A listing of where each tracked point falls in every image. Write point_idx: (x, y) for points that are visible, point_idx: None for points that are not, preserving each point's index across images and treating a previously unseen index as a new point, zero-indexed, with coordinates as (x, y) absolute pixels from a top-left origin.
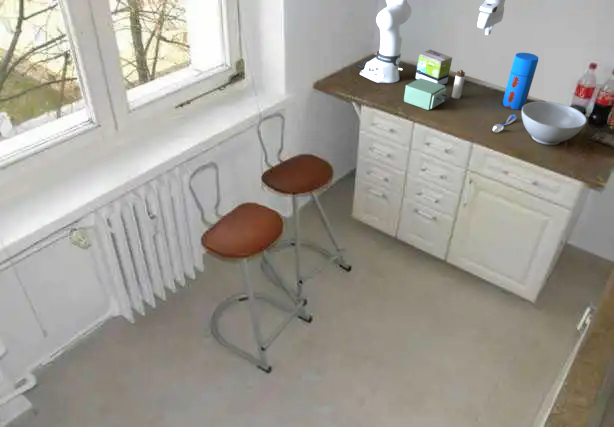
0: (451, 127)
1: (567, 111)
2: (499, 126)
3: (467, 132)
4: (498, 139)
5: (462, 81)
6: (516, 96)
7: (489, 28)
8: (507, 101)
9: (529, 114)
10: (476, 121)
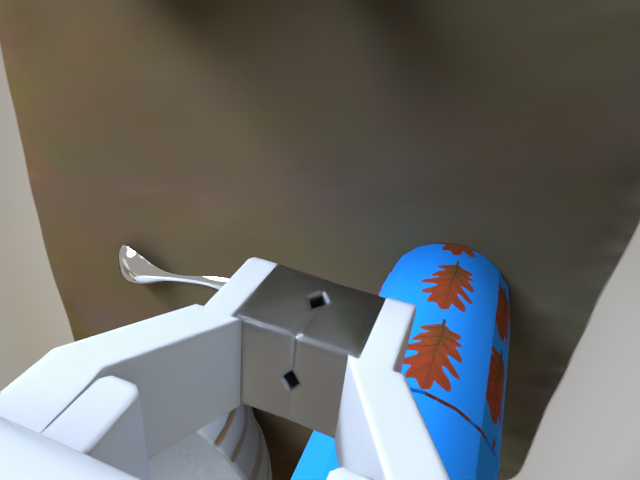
0: (21, 80)
1: None
2: (121, 272)
3: (42, 155)
4: (89, 267)
5: None
6: None
7: (354, 446)
8: (385, 282)
9: None
10: (146, 164)
